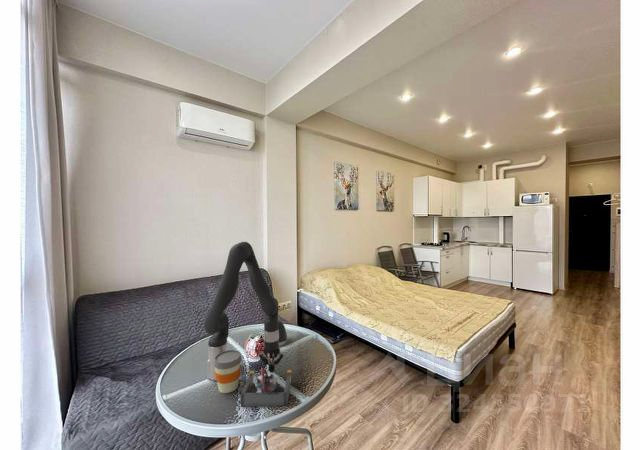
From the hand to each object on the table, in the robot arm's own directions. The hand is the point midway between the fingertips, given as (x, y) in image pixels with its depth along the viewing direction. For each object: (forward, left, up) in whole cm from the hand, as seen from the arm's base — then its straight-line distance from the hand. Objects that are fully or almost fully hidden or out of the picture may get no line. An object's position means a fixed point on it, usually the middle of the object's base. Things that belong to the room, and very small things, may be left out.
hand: (272, 371), depth 130 cm
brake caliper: (+3, -11, -2) cm, 11 cm away
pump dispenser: (-2, +35, -3) cm, 35 cm away
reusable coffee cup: (-20, -7, -3) cm, 21 cm away
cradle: (0, -13, -3) cm, 13 cm away
